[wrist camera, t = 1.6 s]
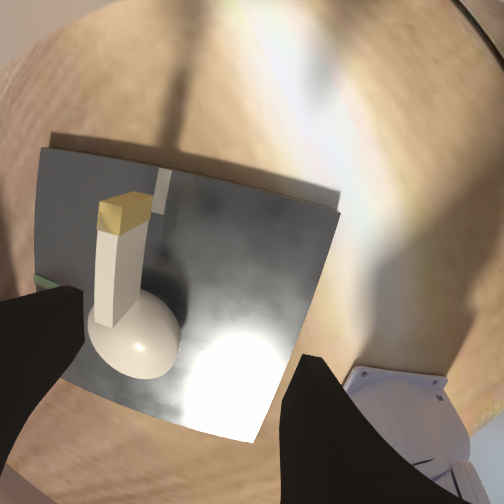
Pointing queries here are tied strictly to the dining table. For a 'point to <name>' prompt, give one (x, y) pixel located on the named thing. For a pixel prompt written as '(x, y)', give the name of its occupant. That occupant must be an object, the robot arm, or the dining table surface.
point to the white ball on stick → (129, 294)
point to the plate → (190, 282)
